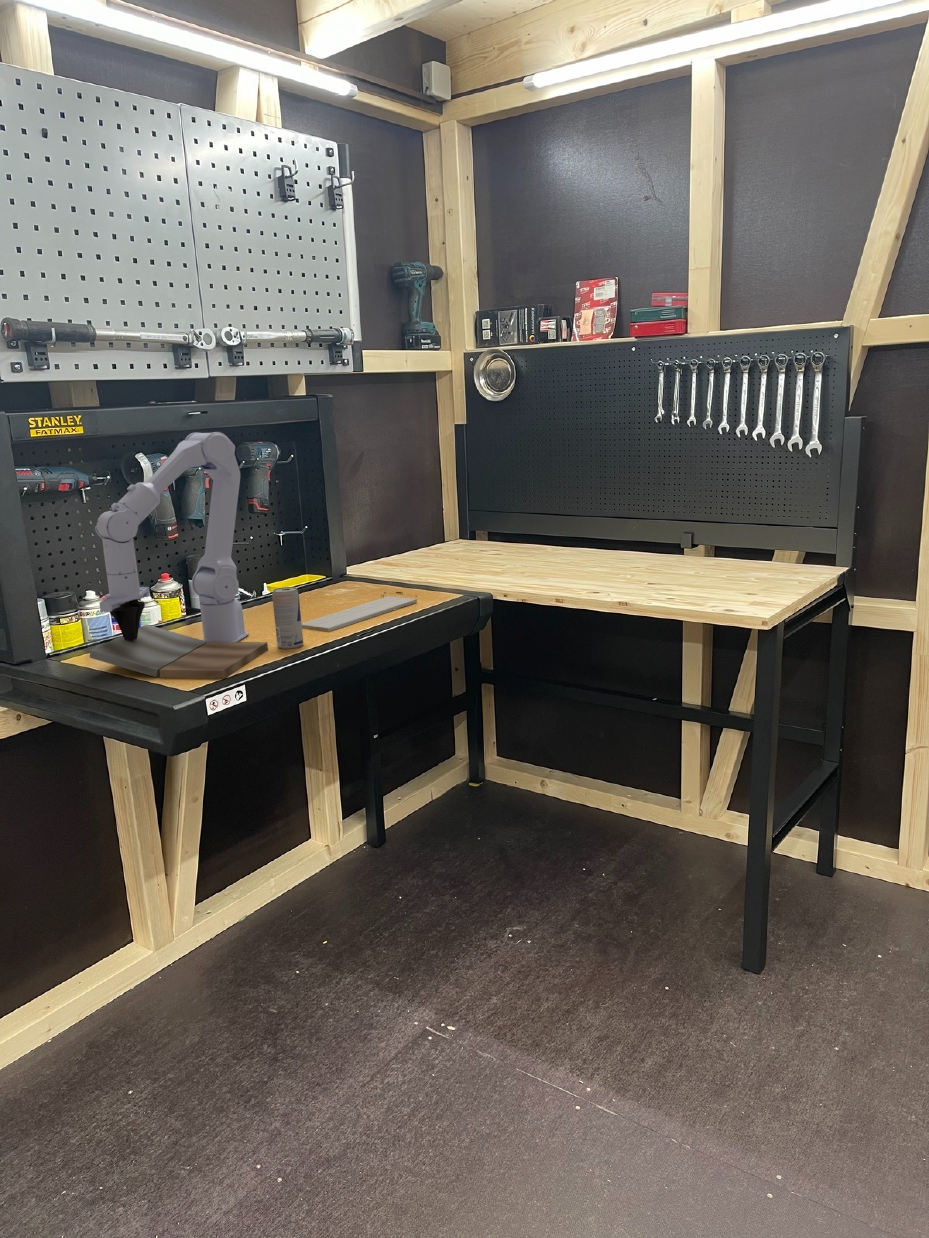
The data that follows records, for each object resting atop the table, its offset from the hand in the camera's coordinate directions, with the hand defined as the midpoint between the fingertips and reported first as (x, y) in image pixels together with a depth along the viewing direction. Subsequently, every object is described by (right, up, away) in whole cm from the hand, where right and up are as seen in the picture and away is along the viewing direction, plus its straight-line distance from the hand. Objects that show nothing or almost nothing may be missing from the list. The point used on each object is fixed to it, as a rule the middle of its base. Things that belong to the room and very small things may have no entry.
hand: (130, 639), depth 184 cm
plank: (+4, -3, 0) cm, 5 cm away
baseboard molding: (+41, +4, +33) cm, 53 cm away
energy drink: (+30, -2, +8) cm, 32 cm away
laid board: (+18, -5, -3) cm, 19 cm away
